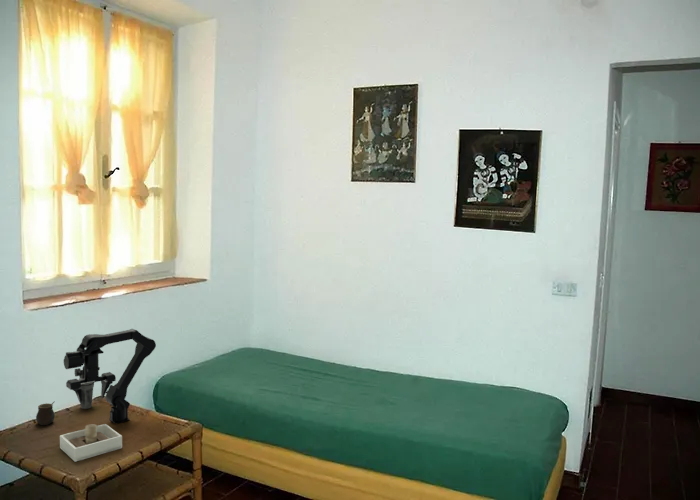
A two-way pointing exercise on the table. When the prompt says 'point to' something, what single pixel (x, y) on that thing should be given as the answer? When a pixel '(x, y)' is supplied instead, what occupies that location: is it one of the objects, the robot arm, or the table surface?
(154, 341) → the robot arm
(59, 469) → the table surface
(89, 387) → the beverage cup
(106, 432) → the open box
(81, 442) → the bore plate
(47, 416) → the mate gourd
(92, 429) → the peg
